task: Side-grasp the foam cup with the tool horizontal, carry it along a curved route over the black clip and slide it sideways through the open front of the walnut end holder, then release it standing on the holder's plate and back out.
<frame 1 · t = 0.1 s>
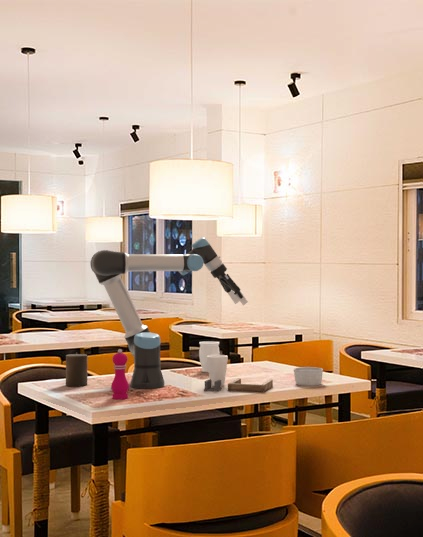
hand: (241, 303, 362), 36 cm above the table, tool tilted 35°, fingers open, 13 cm apart
pepper mill: (120, 398, 307), on the table
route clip: (212, 389, 326), on the table
pillar candle: (76, 385, 342), on the table
jar: (209, 371, 384), on the table
end holder: (250, 388, 329), on the table
foam cup: (217, 385, 340), on the table
ramekin: (308, 384, 341), on the table
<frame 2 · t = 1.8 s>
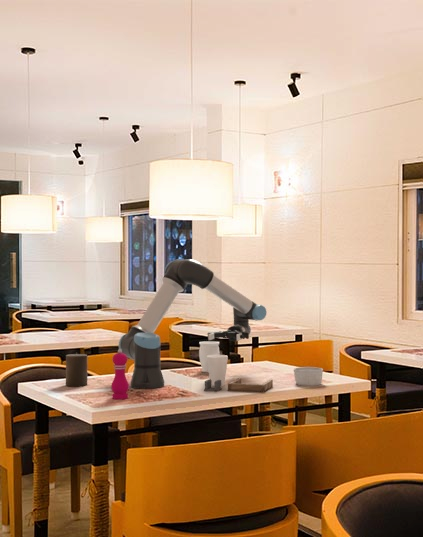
hand: (223, 337, 349), 20 cm above the table, tool horizontal, fingers open, 13 cm apart
nothing on the table moved.
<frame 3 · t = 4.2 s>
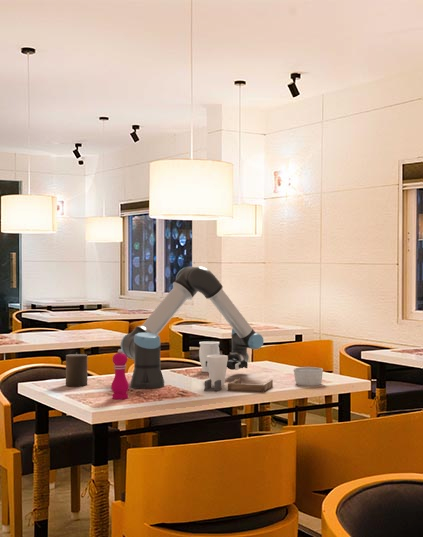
hand: (221, 366, 344), 8 cm above the table, tool horizontal, fingers open, 13 cm apart
nothing on the table moved.
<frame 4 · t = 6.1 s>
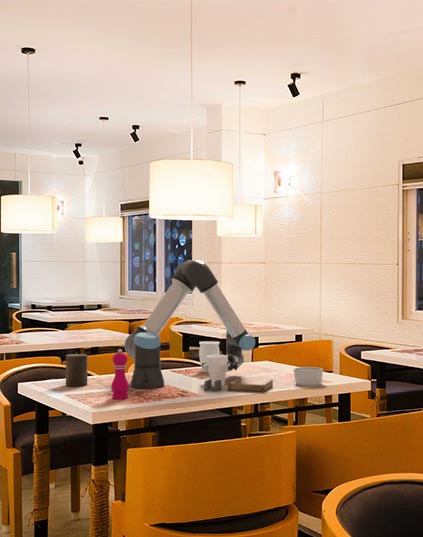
hand: (214, 368, 336), 8 cm above the table, tool horizontal, fingers closed on foam cup, 9 cm apart
foam cup: (217, 385, 340), on the table, touching gripper
everything else where it was.
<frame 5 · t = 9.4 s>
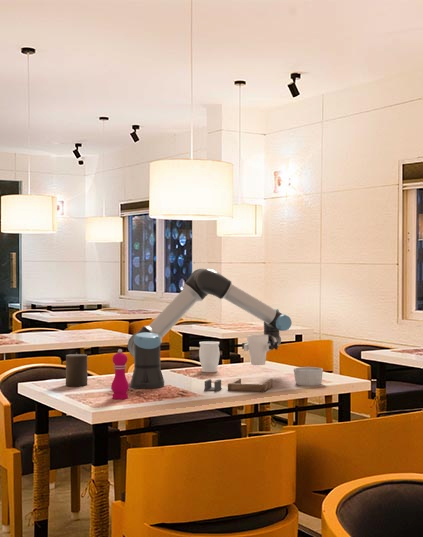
hand: (255, 348, 337), 17 cm above the table, tool horizontal, fingers closed on foam cup, 9 cm apart
foam cup: (258, 364, 341), point 9 cm above the table, touching gripper
everything else where it was.
when the fingers open (10 cm above the table, at t = 12.9 s): foam cup drops 2 cm, resting on end holder.
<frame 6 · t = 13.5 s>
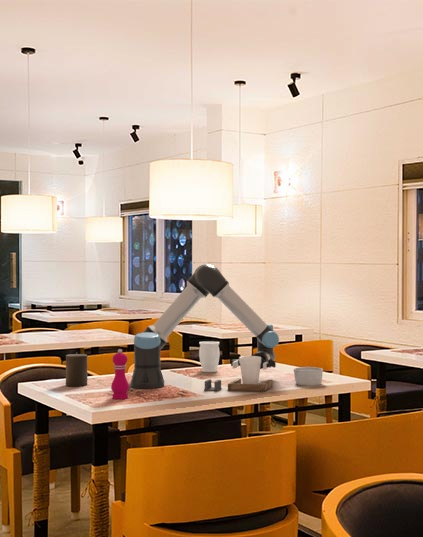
hand: (248, 365, 326), 10 cm above the table, tool horizontal, fingers open, 13 cm apart
foam cup: (250, 387, 329), resting on end holder
everything else where it was.
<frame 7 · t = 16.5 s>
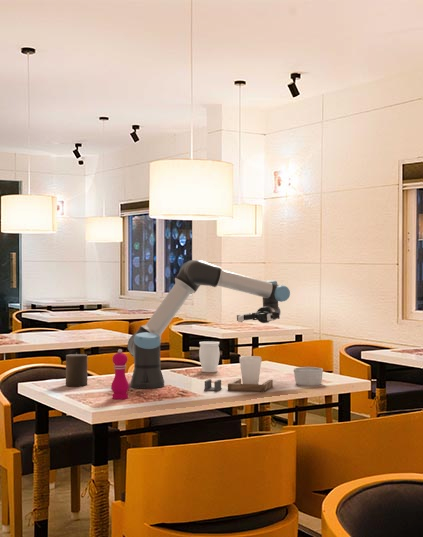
hand: (253, 318, 338), 30 cm above the table, tool horizontal, fingers open, 13 cm apart
nothing on the table moved.
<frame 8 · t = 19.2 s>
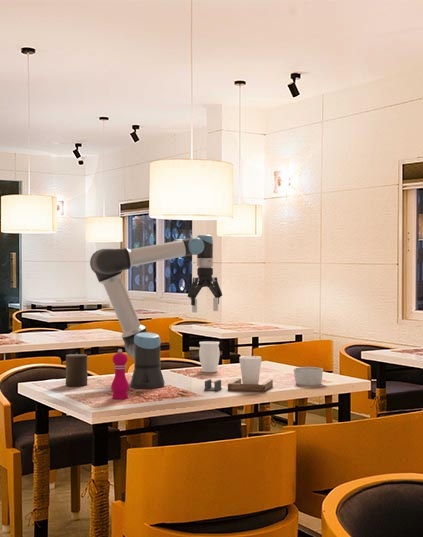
hand: (205, 311, 361), 32 cm above the table, tool pointing down, fingers open, 13 cm apart
nothing on the table moved.
at the end: foam cup 0.1 cm from the end holder (horizontally); foam cup tilted 0°; the gripper is holding nothing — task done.
